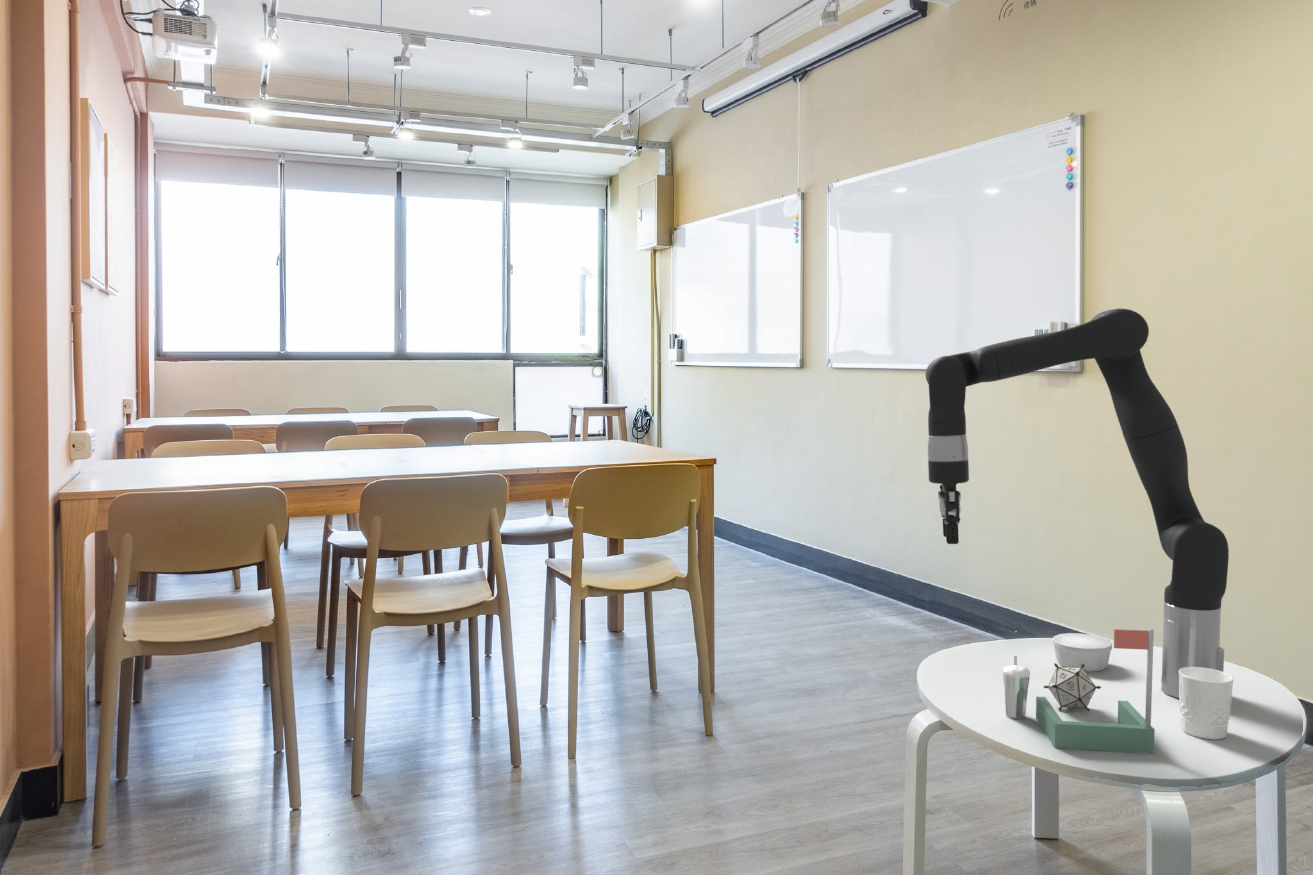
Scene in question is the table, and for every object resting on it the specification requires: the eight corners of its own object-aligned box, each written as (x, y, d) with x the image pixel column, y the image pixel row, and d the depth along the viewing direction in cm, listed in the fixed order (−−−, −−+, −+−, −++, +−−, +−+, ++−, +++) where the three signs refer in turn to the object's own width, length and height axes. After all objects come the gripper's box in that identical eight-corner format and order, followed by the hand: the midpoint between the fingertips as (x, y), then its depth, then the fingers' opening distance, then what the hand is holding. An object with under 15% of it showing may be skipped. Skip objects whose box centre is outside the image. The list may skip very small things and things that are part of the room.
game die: (1074, 724, 165) (1098, 677, 167) (1091, 725, 157) (1116, 676, 159) (1028, 697, 167) (1053, 651, 169) (1043, 696, 159) (1069, 648, 161)
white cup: (1231, 745, 147) (1233, 685, 146) (1175, 735, 151) (1177, 677, 150) (1230, 728, 153) (1233, 671, 153) (1177, 719, 158) (1179, 664, 157)
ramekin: (1042, 664, 188) (1043, 640, 187) (1065, 653, 195) (1066, 629, 195) (1098, 677, 179) (1099, 652, 179) (1120, 665, 187) (1120, 640, 187)
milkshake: (1028, 711, 162) (1029, 657, 161) (1030, 722, 157) (1031, 666, 156) (1001, 708, 164) (1002, 654, 163) (1002, 719, 159) (1003, 663, 158)
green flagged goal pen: (1126, 723, 156) (1130, 610, 155) (1153, 753, 144) (1157, 631, 142) (1035, 718, 159) (1038, 607, 157) (1054, 747, 146) (1057, 627, 145)
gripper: (971, 460, 168) (974, 546, 169) (964, 454, 182) (967, 534, 182) (930, 461, 170) (933, 546, 170) (926, 456, 184) (928, 534, 184)
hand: (950, 540), depth 176 cm, fingers open, 8 cm apart
